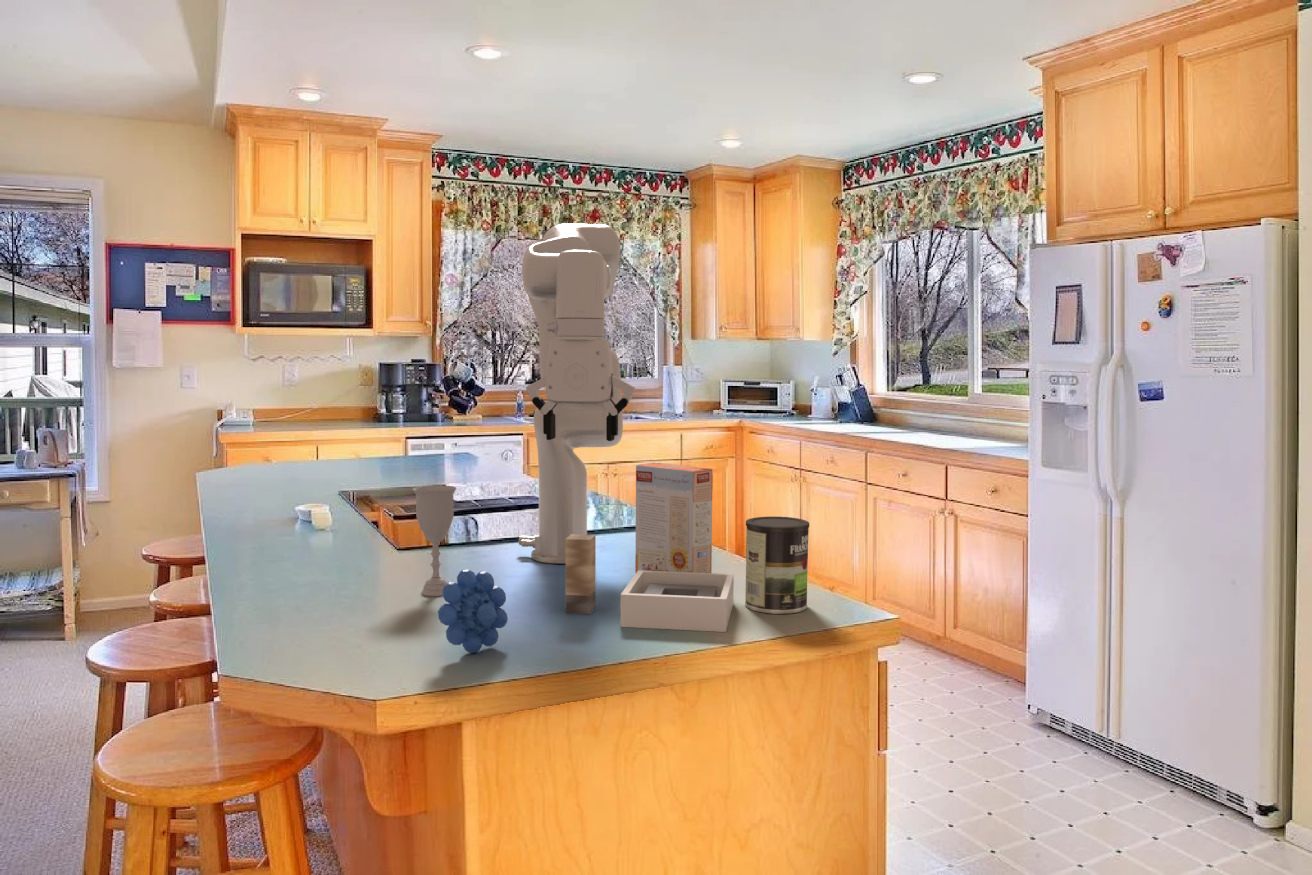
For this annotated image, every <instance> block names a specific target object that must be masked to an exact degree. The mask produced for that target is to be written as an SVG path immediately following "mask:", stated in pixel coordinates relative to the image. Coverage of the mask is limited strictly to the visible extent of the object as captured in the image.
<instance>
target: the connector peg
mask: <svg viewBox="0 0 1312 875" xmlns="http://www.w3.org/2000/svg"><path fill="white" fill-rule="evenodd" d="M596 536H597V535H596V534H587V535H583V534H571V535H570V536H568V537H567V538H566V539H565V549H566V564H565V614H572V613H573V614H576V615H578V614H579V615H591V614H592V613H593V611H595V609H596V606H597V605H596V586H597V585H596V580H597V578H596V572H597V571H596V564H597V563H596V560H597V559H596V558H597V557H596V554H597V553H596V550H597V549H596V538H597V537H596Z"/></svg>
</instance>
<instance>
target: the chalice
mask: <svg viewBox="0 0 1312 875" xmlns="http://www.w3.org/2000/svg"><path fill="white" fill-rule="evenodd" d="M456 490H457V486H453V485H423V486H417V487H414V488H412V491H413V493H414V494H415V507H416V508H415V510H416V511H415V513H416V519H417V522H418V525H419V528H420V530H421V531H422V533H423V536H424V538H425V539H426V541H427V542H430V543H431V544H432V551H431V553H430V555H431V558H432V562H431V564H430V566H431V568H432V575H431V577H429V578H427V579H426V580H425V582H424V585H423V586H422V588H423V589H422V590H421V591H420V593H421V595H424V596H428V597H437V596H438V597H439V596H443V592H442V590H443V588H444V586H445V585H446V584H447V583H448V581H447V579H446V578H444V577H441V576H442V575H441V574H440V571H439V570H440V566H441V565H442V563H441V562H440V560H439V558H440V555H441V551H440V549H439V544H440V543H441V542H443V541H444V540H445V539H446V536H447V534H448V532H449V530H450V528H451V527H452V526H451V525H452V522H453V520H454V495H455V492H456Z"/></svg>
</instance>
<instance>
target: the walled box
mask: <svg viewBox="0 0 1312 875" xmlns="http://www.w3.org/2000/svg"><path fill="white" fill-rule="evenodd" d="M734 577H735V575H734V573H715V572H714V573H713V572H711V573H692V572H668V571H643V570H638V571H637V572H636V574H635V573H634V575H633V577H632V578H631V579H630V581H629V582H628V584H627V585H626V587H625V588H624V590H622V591H621V593H620V627H621V628H635V629H636V628H638V629H657V630H658V629H659V630H660V629H662V630H674V631H675V630H678V631H697V632H698V631H700V632H716V633H717V632H718V633H720V632H721V633H726V632H727V629H728V626H729V622H730V618H731V613H732V610H733V606H734V590H735V589H734V585H735V584H734V581H735V579H734Z"/></svg>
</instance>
